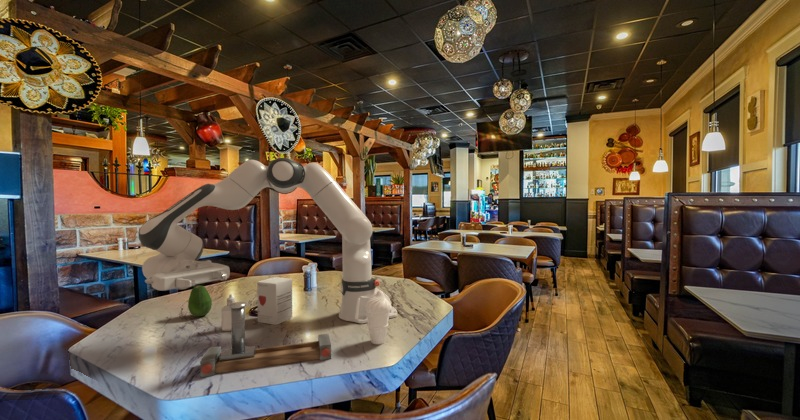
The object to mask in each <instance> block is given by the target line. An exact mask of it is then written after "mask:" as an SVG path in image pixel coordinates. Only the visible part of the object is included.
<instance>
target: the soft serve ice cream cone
mask: <svg viewBox="0 0 800 420" xmlns="http://www.w3.org/2000/svg"><path fill="white" fill-rule="evenodd" d="M384 293H385V292H384V291H382V290H381V291H378V292H377V293H376V295H374V296H373V297H371V298H370V299H369V300H367V301H366V304H365V305H364V306H365V310H366V315H367V323H366V324H367V325H366V326H367V328H368V333H369V337H370V342H371V344H372V345H382V344H385V342H386V337H387V332H388V327H389V319H390V318H389V314H390V313H389V312H390V310H391V306H392V303H391V304H390V302H389V301H388V300H387V299H386V298H385V296H384Z"/></svg>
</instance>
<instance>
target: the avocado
mask: <svg viewBox="0 0 800 420" xmlns="http://www.w3.org/2000/svg"><path fill="white" fill-rule="evenodd" d="M187 302H188V303H187V309H188V311H189V313H190V315H192V316H194V317H204V316H206V315H208V314H209V313H210V311H211V310H212V306H213V302H212V297H211V295H210V293H209V291H208V290H207V288H206V287H205V286H204V285H200V284H198V285H195V286H193V288H192V289H191V290H190V295H189V297H188V301H187Z"/></svg>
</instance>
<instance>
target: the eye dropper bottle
mask: <svg viewBox="0 0 800 420" xmlns="http://www.w3.org/2000/svg"><path fill="white" fill-rule="evenodd" d="M235 302H236V299H235V297H233V294H232V293H230V294H229V296H228V298H226V305H224V306H223V307H222V308H221V330H222V331H224V332H230V331H231V332H232V328H231V308H229V305H230V304H232V303H235Z"/></svg>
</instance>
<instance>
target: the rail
mask: <svg viewBox="0 0 800 420" xmlns="http://www.w3.org/2000/svg"><path fill="white" fill-rule="evenodd" d="M317 338H318V340H314V341H309V342H307V341H306V342H301V343H300V342H299V343H293V344H292V343H291V344H283V345H276V346H275V345H274V346H269V347H268V346H267V347H260V348H256V354H255V357H253V358H245V359H237V360H230V361H222V362H220V356H221V354H222V346H213V347H208V348H207V350H206V352H205V353H204V355H203V356H202V358H201V360H200V361H199V362H200V364H199V365H200V378H204V377H205V378H206V377H213V376H215V374H219V373H228V372H235V371H241V370H248V369H256V368H263V367H269V366H276V365H283V364H285V365H286V364H291V363H299V362H305V361H307V362H308V361H311V360H312V361H313V360H319V361H323V360H324V361H325V360H330V359H331V360H332V341H331V339H330V334H329V333H323V334H322V333H321V334H318V336H317Z"/></svg>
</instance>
